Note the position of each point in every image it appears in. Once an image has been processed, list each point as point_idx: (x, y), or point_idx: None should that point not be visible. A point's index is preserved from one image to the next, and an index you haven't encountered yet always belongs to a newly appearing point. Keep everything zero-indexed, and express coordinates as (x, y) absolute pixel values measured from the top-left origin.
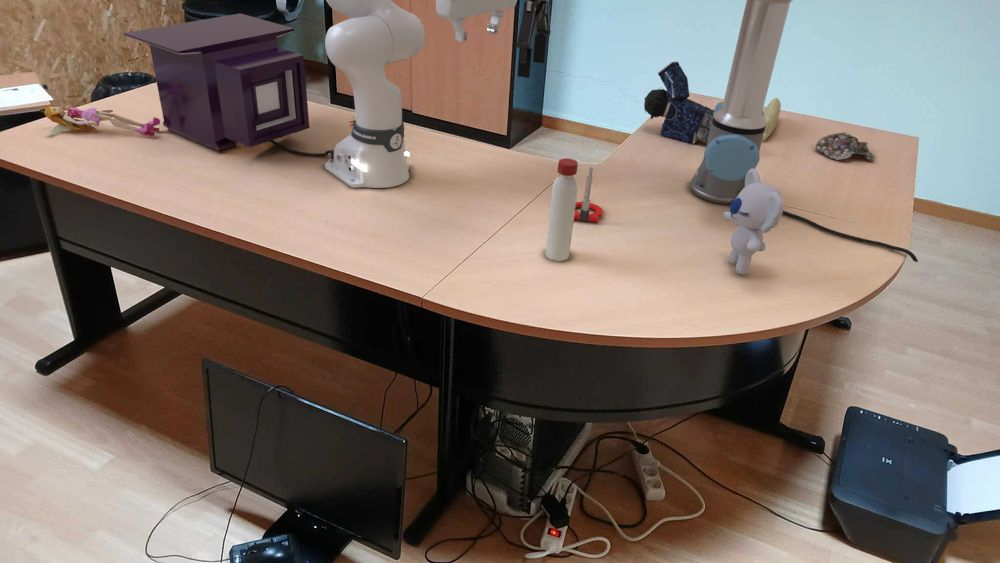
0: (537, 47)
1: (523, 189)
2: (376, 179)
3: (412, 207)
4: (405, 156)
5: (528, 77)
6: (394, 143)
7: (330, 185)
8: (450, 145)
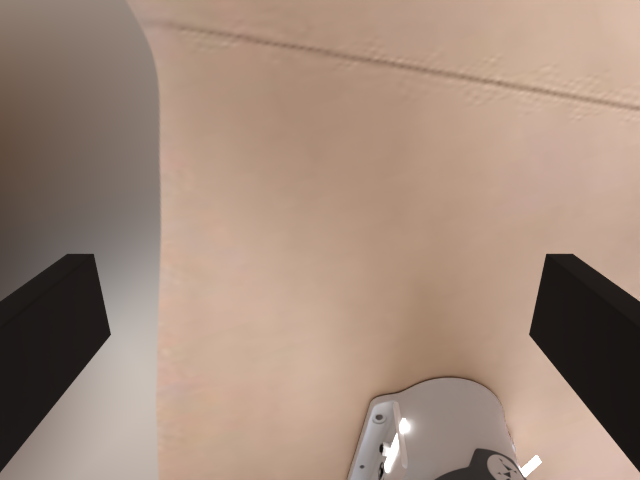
0: (31, 394)
1: (392, 121)
2: (506, 426)
3: None
4: (425, 423)
5: (574, 257)
6: (512, 470)
7: None
8: (204, 367)
